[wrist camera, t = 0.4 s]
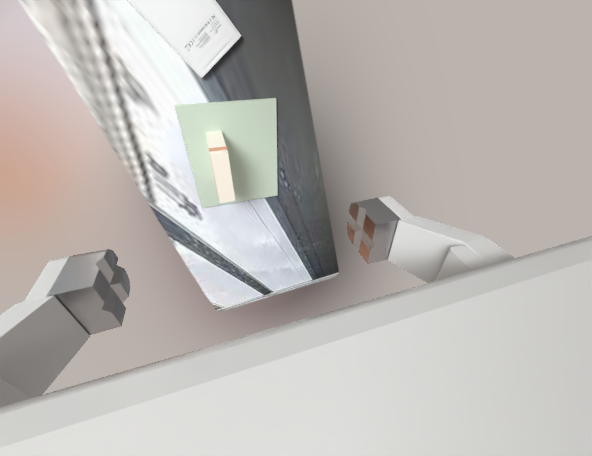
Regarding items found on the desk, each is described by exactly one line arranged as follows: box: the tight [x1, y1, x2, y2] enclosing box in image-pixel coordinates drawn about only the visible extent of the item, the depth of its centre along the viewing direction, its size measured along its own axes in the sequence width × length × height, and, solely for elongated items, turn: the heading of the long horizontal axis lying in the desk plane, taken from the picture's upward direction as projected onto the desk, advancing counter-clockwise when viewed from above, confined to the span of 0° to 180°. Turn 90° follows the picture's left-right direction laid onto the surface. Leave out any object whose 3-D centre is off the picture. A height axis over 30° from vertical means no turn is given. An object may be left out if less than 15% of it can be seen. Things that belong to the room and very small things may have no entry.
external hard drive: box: [127, 0, 241, 78], centre depth 34 cm, size 2×8×12 cm
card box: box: [206, 131, 235, 203], centre depth 45 cm, size 9×3×8 cm, turn 178°
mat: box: [175, 98, 278, 208], centre depth 49 cm, size 20×16×1 cm
